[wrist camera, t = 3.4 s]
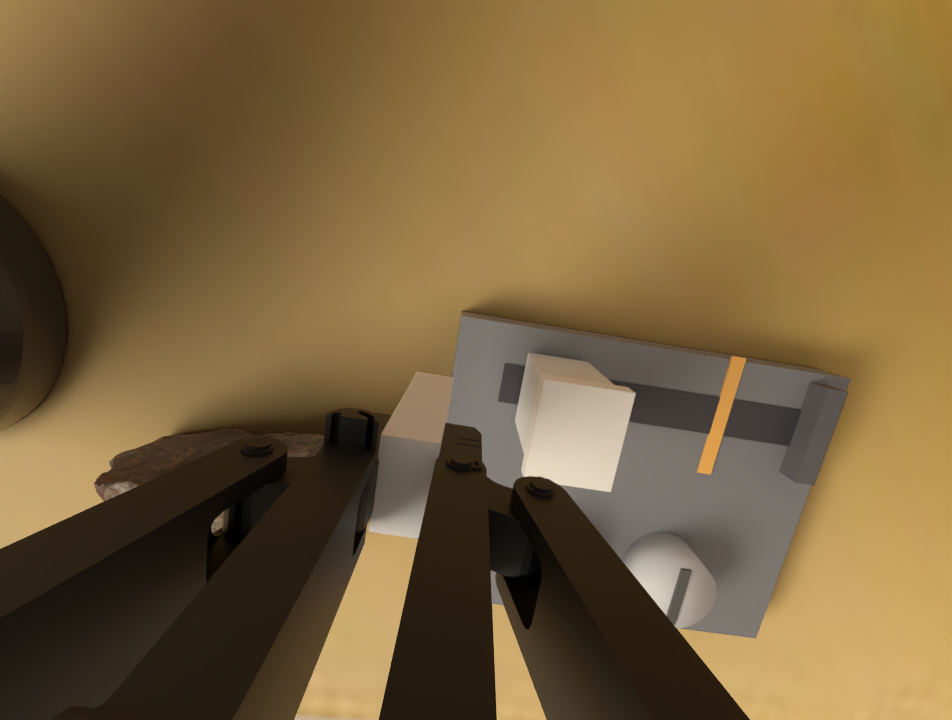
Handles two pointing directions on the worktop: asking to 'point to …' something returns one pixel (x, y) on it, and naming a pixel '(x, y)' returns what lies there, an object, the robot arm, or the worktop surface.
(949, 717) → the worktop surface
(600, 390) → the fader tab
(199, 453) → the rock
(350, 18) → the worktop surface
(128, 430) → the worktop surface
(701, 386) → the console
